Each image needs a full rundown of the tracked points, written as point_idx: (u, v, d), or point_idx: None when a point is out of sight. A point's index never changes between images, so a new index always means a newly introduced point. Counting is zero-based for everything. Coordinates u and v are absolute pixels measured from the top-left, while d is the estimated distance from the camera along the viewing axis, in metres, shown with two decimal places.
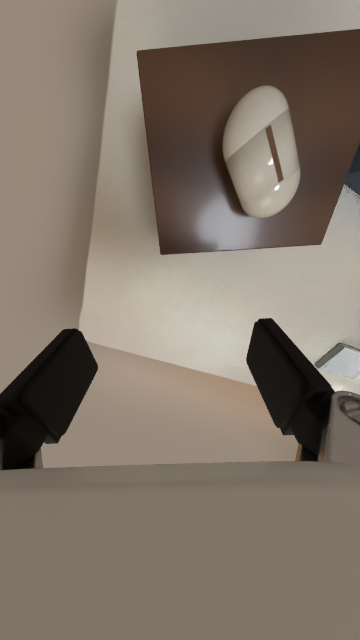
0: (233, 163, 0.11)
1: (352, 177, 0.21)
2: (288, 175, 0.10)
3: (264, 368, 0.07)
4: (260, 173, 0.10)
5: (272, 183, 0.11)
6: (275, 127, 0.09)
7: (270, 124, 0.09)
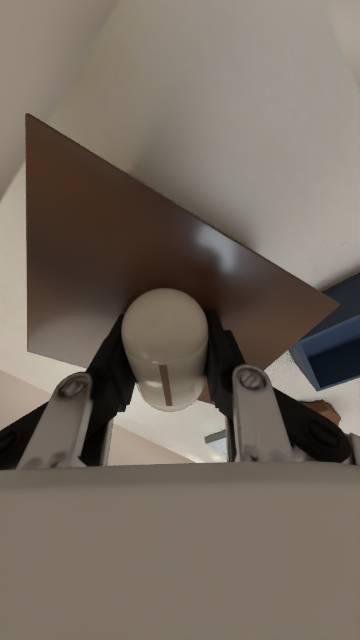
0: None
1: None
2: (180, 402, 0.08)
3: None
4: (147, 388, 0.07)
5: (159, 402, 0.08)
6: (173, 368, 0.06)
7: (166, 364, 0.06)
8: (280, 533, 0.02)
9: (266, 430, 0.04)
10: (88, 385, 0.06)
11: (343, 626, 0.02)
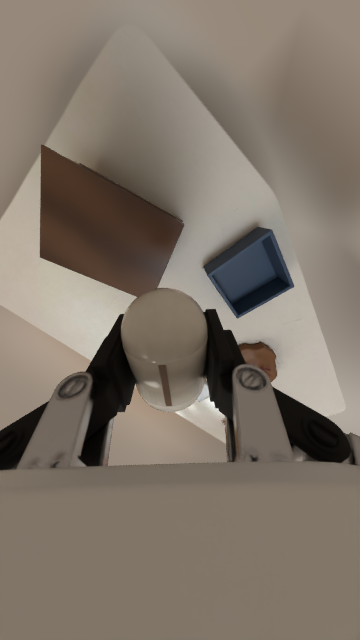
0: None
1: None
2: (179, 402, 0.08)
3: None
4: (147, 388, 0.07)
5: (158, 402, 0.08)
6: (172, 368, 0.06)
7: (166, 364, 0.06)
8: (280, 533, 0.02)
9: (266, 430, 0.04)
10: (88, 385, 0.06)
11: (343, 626, 0.02)
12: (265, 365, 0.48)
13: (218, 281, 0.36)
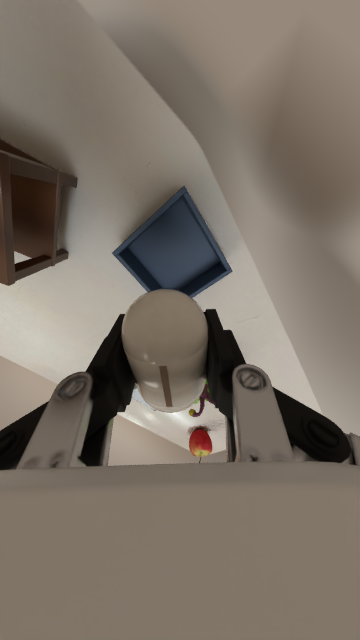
0: (125, 351, 0.07)
1: None
2: (180, 403, 0.08)
3: None
4: (147, 388, 0.07)
5: (159, 403, 0.08)
6: (173, 369, 0.06)
7: (166, 365, 0.06)
8: (280, 533, 0.02)
9: (266, 430, 0.04)
10: (88, 385, 0.06)
11: (343, 625, 0.02)
12: None
13: (145, 266, 0.28)
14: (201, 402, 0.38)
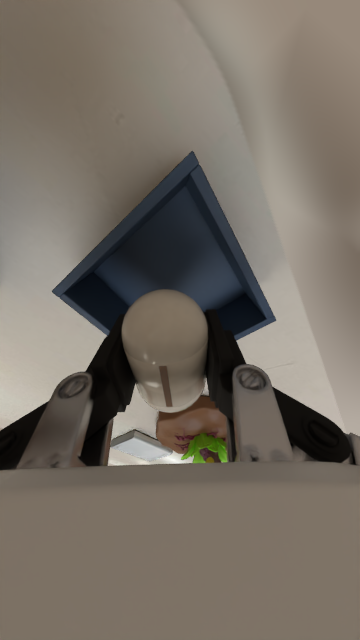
0: (125, 351, 0.07)
1: None
2: (180, 403, 0.08)
3: None
4: (147, 388, 0.07)
5: (159, 403, 0.08)
6: (173, 369, 0.06)
7: (166, 365, 0.06)
8: (280, 533, 0.02)
9: (266, 430, 0.04)
10: (88, 385, 0.06)
11: (343, 626, 0.02)
12: None
13: (125, 299, 0.18)
14: None
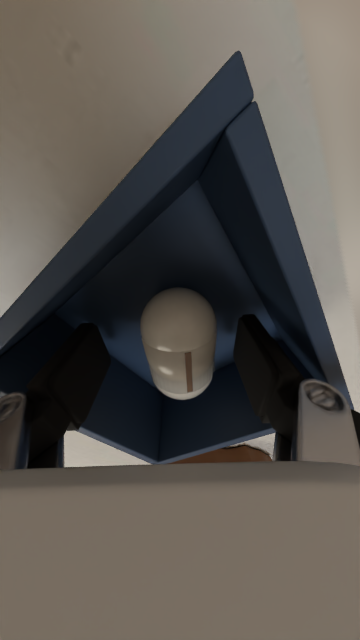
0: (145, 347, 0.08)
1: None
2: (198, 387, 0.09)
3: (246, 361, 0.08)
4: (170, 378, 0.08)
5: (180, 390, 0.08)
6: (195, 354, 0.07)
7: (191, 351, 0.07)
8: (280, 533, 0.02)
9: None
10: (19, 408, 0.05)
11: (342, 626, 0.02)
12: None
13: None
14: None
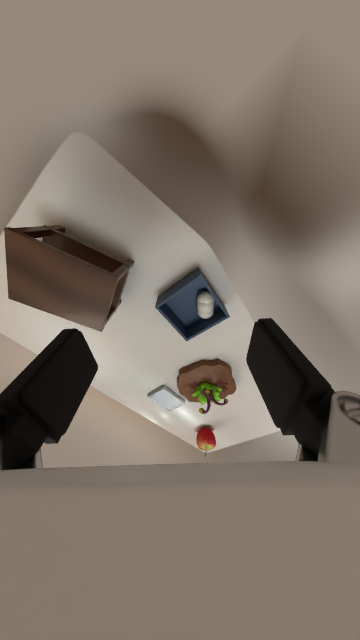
0: (210, 304, 0.37)
1: None
2: None
3: (264, 368, 0.07)
4: (213, 307, 0.39)
5: (213, 309, 0.40)
6: None
7: None
8: (280, 533, 0.02)
9: None
10: None
11: (343, 625, 0.02)
12: (222, 379, 0.53)
13: (171, 308, 0.42)
14: (208, 403, 0.51)
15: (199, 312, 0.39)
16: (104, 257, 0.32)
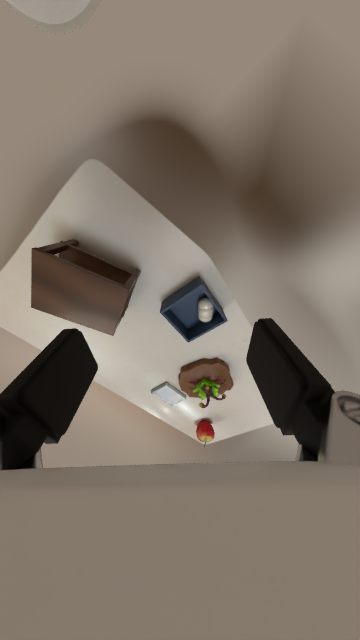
0: (210, 309, 0.41)
1: None
2: None
3: (264, 368, 0.07)
4: (212, 312, 0.43)
5: None
6: None
7: None
8: (280, 533, 0.02)
9: None
10: None
11: (343, 626, 0.02)
12: (221, 376, 0.58)
13: (174, 312, 0.46)
14: (207, 398, 0.55)
15: (200, 316, 0.43)
16: (115, 269, 0.35)
